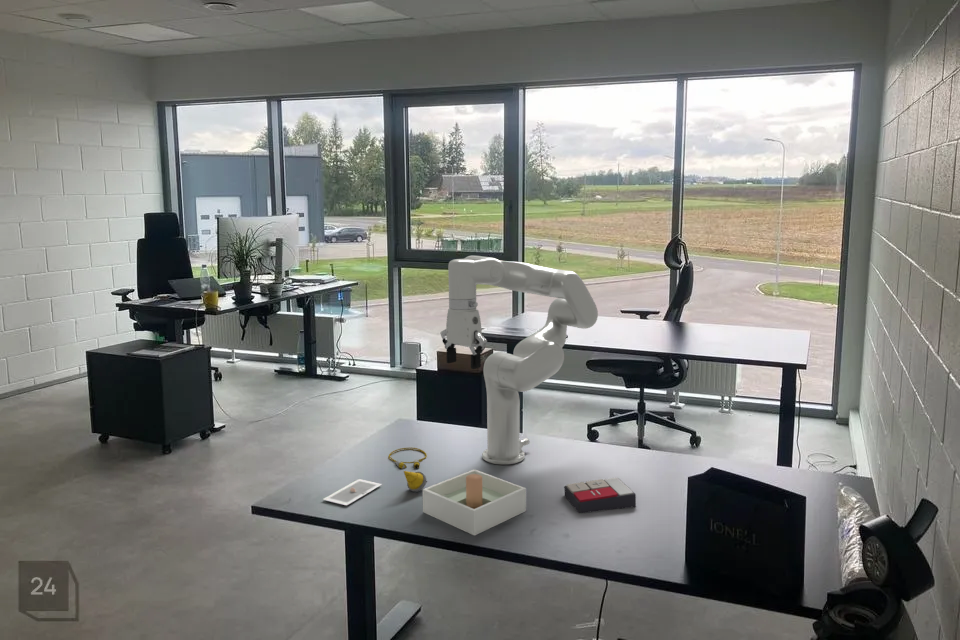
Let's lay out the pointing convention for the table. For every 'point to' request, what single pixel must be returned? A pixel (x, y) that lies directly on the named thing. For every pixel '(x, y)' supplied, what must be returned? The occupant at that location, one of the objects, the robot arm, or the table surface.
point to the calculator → (600, 495)
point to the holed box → (497, 507)
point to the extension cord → (402, 465)
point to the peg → (474, 491)
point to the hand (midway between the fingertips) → (463, 365)
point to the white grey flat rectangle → (352, 492)
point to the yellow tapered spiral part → (415, 480)
